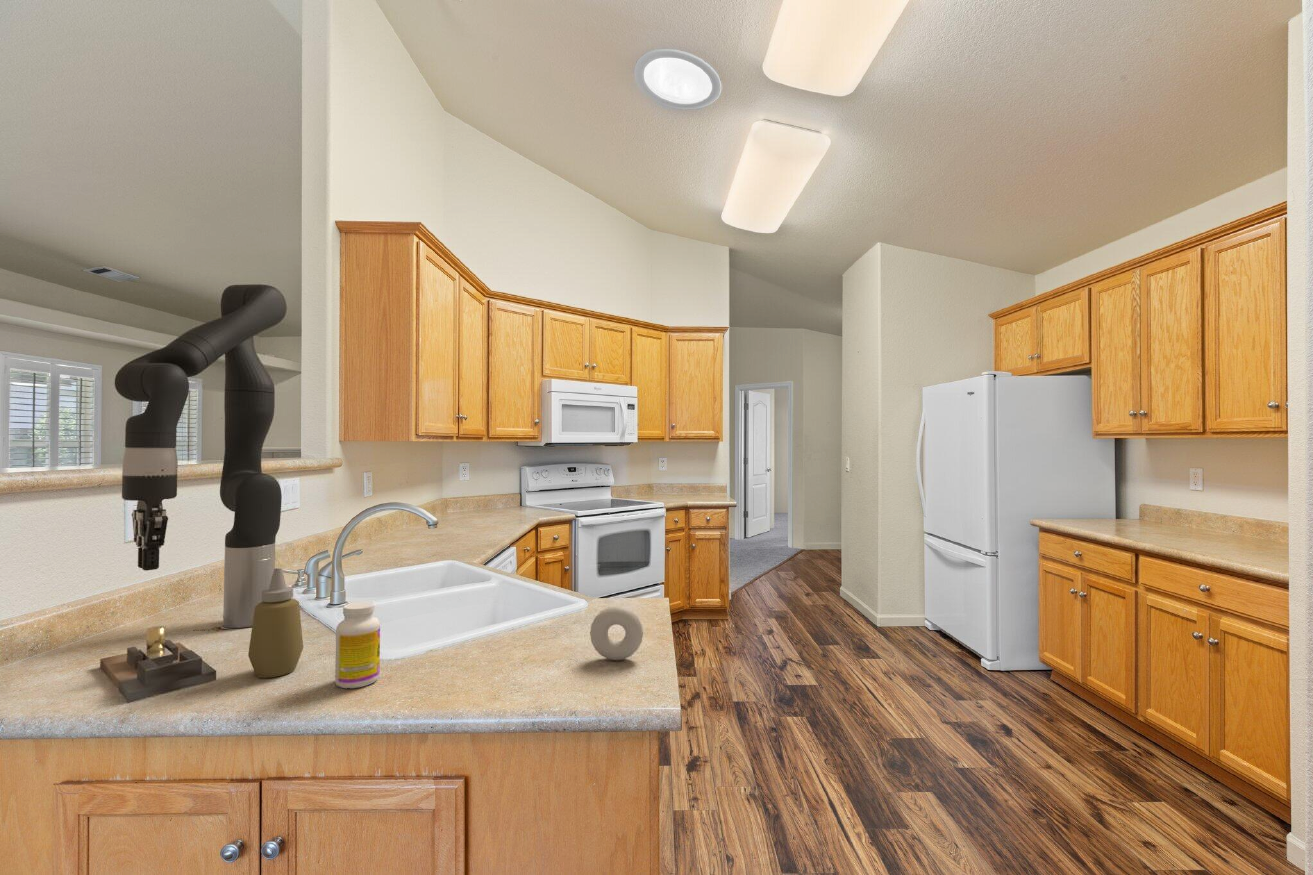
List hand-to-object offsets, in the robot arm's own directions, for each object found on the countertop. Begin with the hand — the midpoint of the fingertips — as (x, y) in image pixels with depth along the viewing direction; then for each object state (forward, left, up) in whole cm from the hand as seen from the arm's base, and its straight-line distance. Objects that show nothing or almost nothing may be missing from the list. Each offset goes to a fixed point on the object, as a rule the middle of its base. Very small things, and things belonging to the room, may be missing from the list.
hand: (148, 568), depth 104 cm
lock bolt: (0, +7, -15) cm, 17 cm away
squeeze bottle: (-13, +22, -17) cm, 31 cm away
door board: (0, +7, -17) cm, 19 cm away
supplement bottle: (-20, +37, -17) cm, 46 cm away
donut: (-55, +64, -17) cm, 87 cm away
